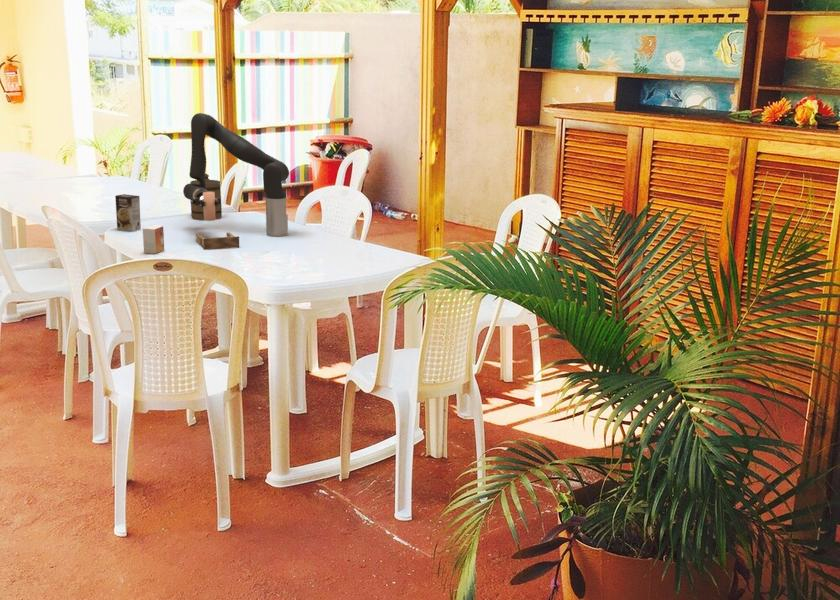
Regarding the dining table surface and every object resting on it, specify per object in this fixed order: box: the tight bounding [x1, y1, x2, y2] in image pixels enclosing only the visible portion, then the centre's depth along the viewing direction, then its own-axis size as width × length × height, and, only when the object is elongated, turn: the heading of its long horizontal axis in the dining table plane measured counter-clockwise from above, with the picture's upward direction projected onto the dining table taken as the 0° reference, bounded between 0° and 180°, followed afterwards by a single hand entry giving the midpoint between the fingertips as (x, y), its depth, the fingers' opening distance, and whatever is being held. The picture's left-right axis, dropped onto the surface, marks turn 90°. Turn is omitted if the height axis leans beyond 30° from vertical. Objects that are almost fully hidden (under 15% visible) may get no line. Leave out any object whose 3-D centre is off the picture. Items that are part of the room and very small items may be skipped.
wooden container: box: [189, 173, 223, 221], centre depth 471 cm, size 15×15×22 cm
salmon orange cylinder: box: [203, 192, 217, 222], centre depth 413 cm, size 5×5×12 cm
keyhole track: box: [195, 232, 240, 251], centre depth 414 cm, size 15×18×5 cm
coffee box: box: [115, 193, 142, 232], centre depth 438 cm, size 9×6×16 cm
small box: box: [142, 225, 165, 255], centre depth 396 cm, size 8×6×10 cm
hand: (210, 203), depth 411 cm, fingers closed on salmon orange cylinder, 5 cm apart
